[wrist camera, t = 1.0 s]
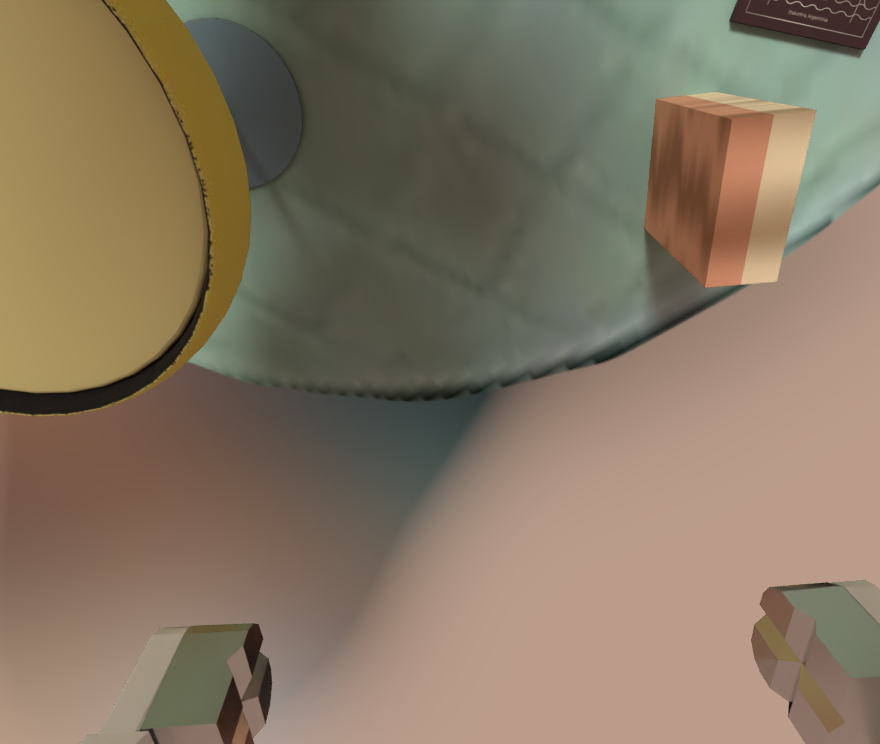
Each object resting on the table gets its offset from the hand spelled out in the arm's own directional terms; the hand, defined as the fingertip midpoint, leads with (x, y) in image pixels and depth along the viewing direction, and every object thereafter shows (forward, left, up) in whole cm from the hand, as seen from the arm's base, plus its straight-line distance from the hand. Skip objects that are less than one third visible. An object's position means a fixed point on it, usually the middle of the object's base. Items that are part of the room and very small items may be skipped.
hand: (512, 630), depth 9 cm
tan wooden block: (+1, +15, -36) cm, 39 cm away
